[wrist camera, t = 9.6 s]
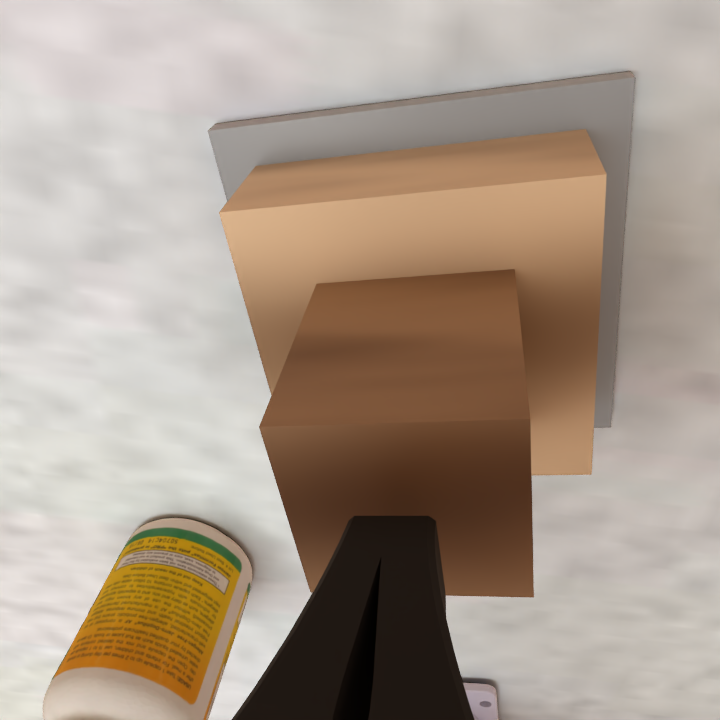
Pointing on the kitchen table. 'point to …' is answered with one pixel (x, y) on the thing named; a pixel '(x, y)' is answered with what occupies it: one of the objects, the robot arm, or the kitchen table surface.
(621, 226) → the baseplate
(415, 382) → the walnut block
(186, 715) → the supplement bottle
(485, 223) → the oak brick
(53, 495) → the kitchen table surface
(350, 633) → the robot arm
